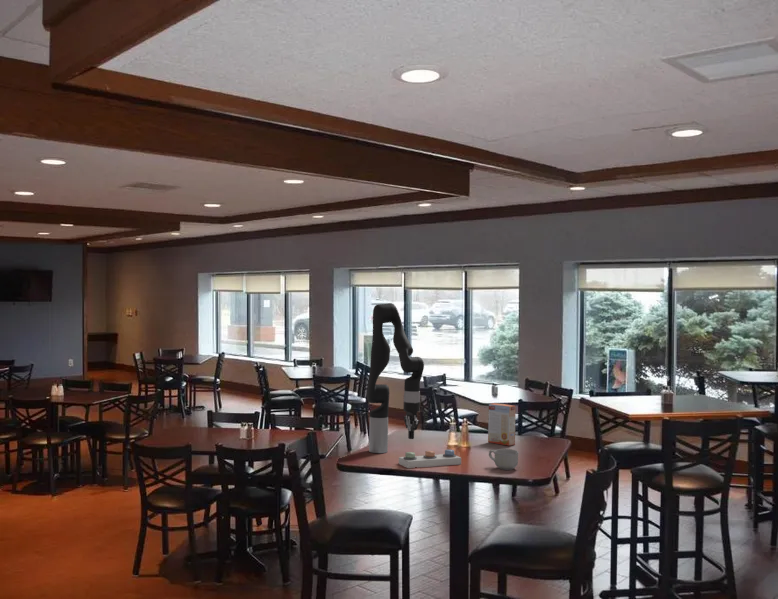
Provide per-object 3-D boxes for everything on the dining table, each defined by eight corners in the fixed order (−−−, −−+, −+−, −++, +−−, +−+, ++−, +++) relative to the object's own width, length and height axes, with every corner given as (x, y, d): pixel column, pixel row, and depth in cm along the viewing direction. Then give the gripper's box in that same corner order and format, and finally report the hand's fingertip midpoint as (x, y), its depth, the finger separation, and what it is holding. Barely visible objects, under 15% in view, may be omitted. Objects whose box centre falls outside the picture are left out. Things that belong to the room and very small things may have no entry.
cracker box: (515, 444, 396) (516, 405, 396) (508, 446, 392) (509, 406, 392) (494, 441, 406) (495, 402, 406) (487, 442, 402) (488, 403, 402)
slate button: (443, 454, 349) (443, 449, 349) (451, 453, 351) (451, 449, 351) (447, 455, 345) (447, 451, 345) (455, 455, 347) (456, 451, 347)
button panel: (398, 463, 344) (398, 456, 344) (451, 460, 354) (451, 452, 354) (407, 468, 334) (407, 460, 334) (461, 464, 345) (461, 456, 345)
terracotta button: (423, 455, 345) (423, 451, 345) (432, 454, 347) (432, 450, 347) (427, 457, 341) (427, 452, 341) (436, 456, 343) (436, 452, 343)
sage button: (403, 456, 342) (403, 452, 342) (412, 456, 343) (412, 451, 343) (407, 458, 338) (407, 454, 338) (416, 458, 339) (416, 453, 339)
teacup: (523, 469, 337) (523, 451, 337) (508, 472, 330) (508, 454, 330) (498, 464, 347) (498, 446, 347) (483, 467, 339) (483, 449, 340)
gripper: (398, 399, 346) (397, 436, 346) (410, 403, 334) (409, 442, 334) (413, 398, 349) (412, 435, 349) (425, 402, 337) (424, 441, 337)
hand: (411, 438), depth 342 cm, fingers closed
